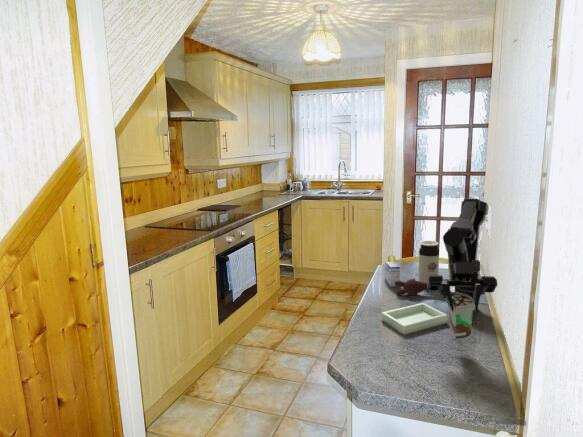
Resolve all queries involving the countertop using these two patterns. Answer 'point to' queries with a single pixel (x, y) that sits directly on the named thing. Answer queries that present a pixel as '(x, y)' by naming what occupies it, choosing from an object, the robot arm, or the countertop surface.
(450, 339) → the countertop surface
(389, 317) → the tray
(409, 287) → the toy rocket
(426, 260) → the travel mug
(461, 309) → the food container
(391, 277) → the medicine box
